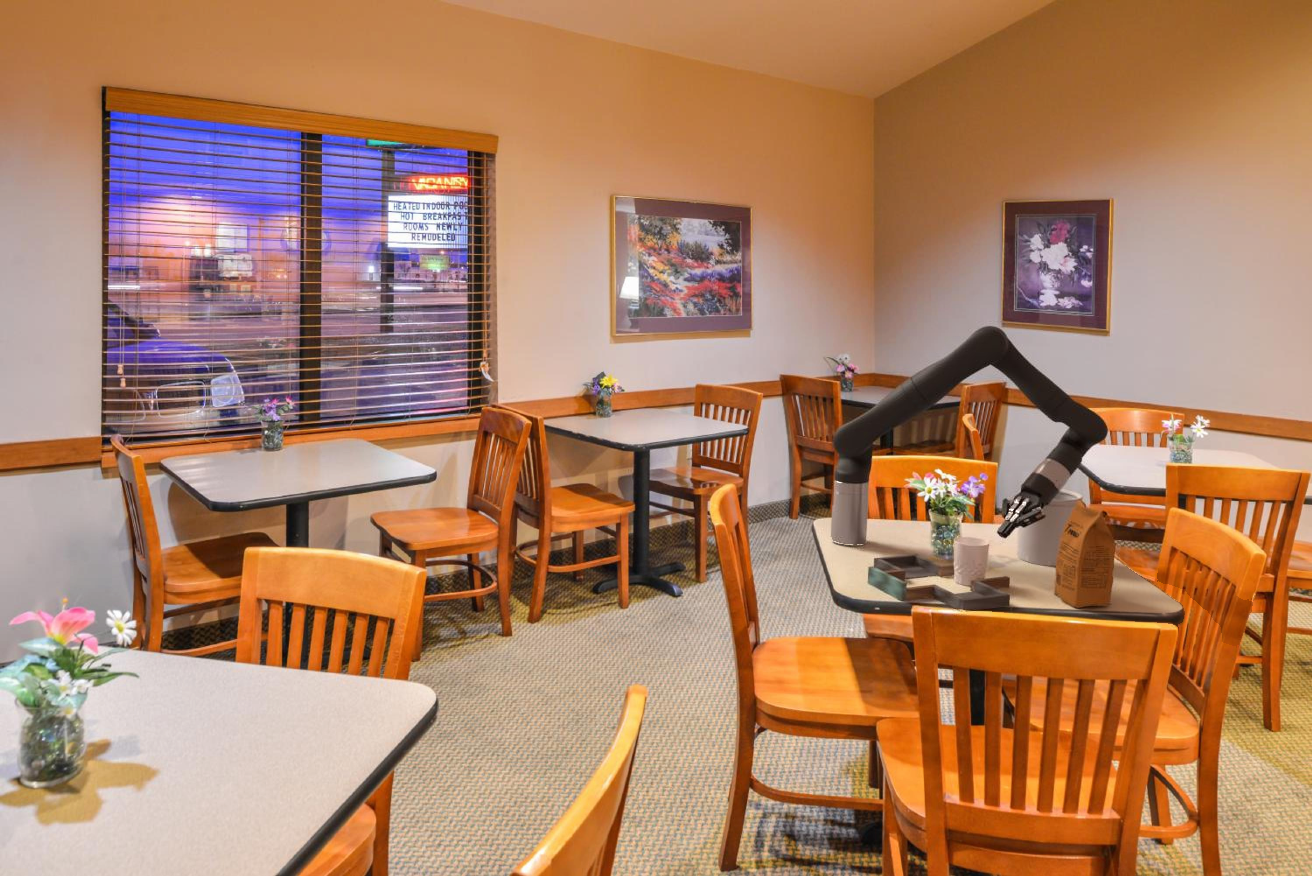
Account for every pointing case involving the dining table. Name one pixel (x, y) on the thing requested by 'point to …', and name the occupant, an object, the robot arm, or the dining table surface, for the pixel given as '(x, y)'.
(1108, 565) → the coffee package
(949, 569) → the grey compartment tray
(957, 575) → the white cup
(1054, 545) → the utensil holder
